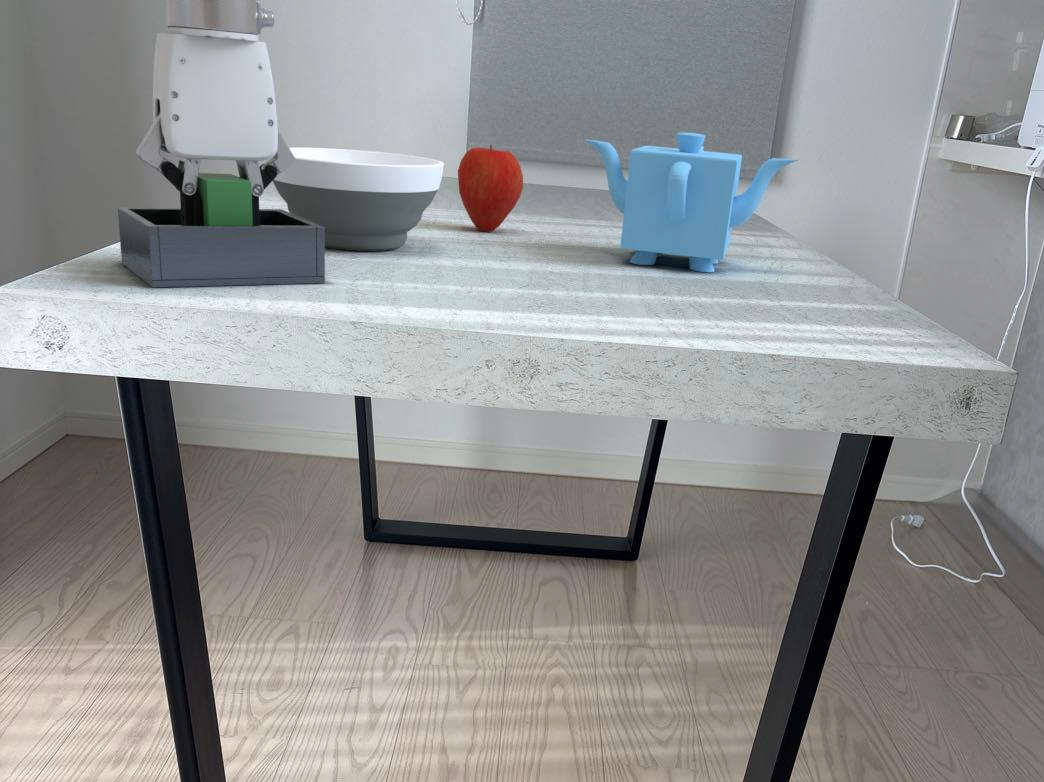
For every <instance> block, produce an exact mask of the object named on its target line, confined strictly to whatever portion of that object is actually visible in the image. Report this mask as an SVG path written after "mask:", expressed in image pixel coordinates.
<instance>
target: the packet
mask: <svg viewBox="0 0 1044 782" xmlns="http://www.w3.org/2000/svg"><path fill="white" fill-rule="evenodd" d="M197 188H198V195H200V196H201V197H202V200H203V221H204V225H253V221H252V187H251V181H248V180H246V179H243V178H240V176H239V175H238V176H237V175H235V174H232V173H214V172H213V173H211V172H210V173H209V172H199V175H198V182H197Z"/></svg>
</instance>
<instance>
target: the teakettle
mask: <svg viewBox="0 0 1044 782" xmlns="http://www.w3.org/2000/svg"><path fill="white" fill-rule="evenodd" d="M676 140H677V141H676V142H677V145H678V148H677V147H666V146H654V145H643V146H640V147H637V148H633V149H631V151H630V154H629V162H628V171H627V172H628V173H627V179H626V178H625V176H624V173H623V171H622V170H623V169H622V166H621V163H620V161H621V160H620V158H619V155H618V152H617V150H616V148H615V147H614V146H613V145H612V143H610V142H608V141H601V140H595V139H584V141H585V142H586V143H588V144H589V145H591V147H593V148H594V149H596V151H597V152H598V153H599V154H600V156H601V160H602V161H603V164H604V169H605V172H606V173H605V174H606V180H607V185H608V192H609V194H610V198H611V200H612V202H613V203H614V205H615V207H616V208H617V209H618V210H619V211H620V212H621V213H622V214H623V216H622V217H623V219H622V229H621V237H620V247H619V248H620V249H623V250H631V251H636V252H635V253H634V254H633V256H632V257H631V258H630V260H629V263H631V264H635V265H640V266H641V265H642V266H653V265H655V263H656V261H657V258H660V257H662V254H666V255H676V256H684V257H685V256H686V257H688V260H689V270H690V271H695V272H702V273H714V272H715V268H714V264H719V260H720V261H723V260H724V258H725V256H726V254H727V251H728V249H729V246H730V242H731V235H732V228H735V227H738V226H740V225H742V224H744V223H746V222H747V221H748V220H749V219H750V218H751V217H752V216H753V215H754V213H755V212H756V211H757V209H758V207H759V205H760V203H761V202H762V199H763V196H764V194H765V193H766V190H767V187H768V186H769V184H770V183H771V180H772V178H774V176H775V175H776V174H777V172H779V171H780V170H781V169H782V168H784V167H786V166H788V165H790V164H793V163H795V162H798V161H799V160H798V159H796V158H795V159H793V158H778V157H773V158H769V159H767V160H766V161H765V162H764V163H762V165H761V166H760V167H759V169H758V170H757V172H756V174H755V175H754V178H753V180H752V181H751V183H750V185H749V187H748V188H747V189H746V191H744V192H742V193H740V194H738V187H739V180H740V175H741V166H742V160H743V155H742V154H738V153H729V152H728V153H727V152H720V151H719V152H718V151H708V150H705V147H704V146H703V144H704V142H705V140H706V135H704V134H701V133H696V132H678V133H676ZM737 194H738V195H737Z"/></svg>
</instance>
